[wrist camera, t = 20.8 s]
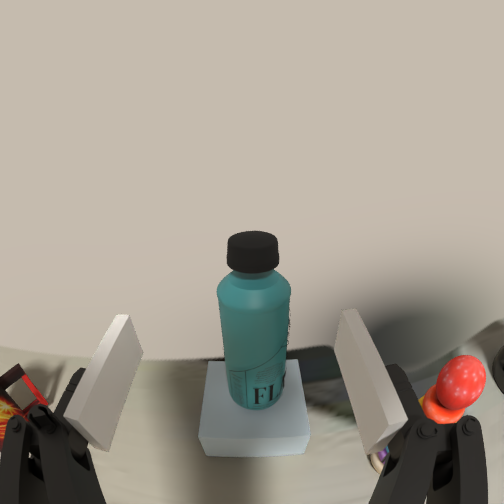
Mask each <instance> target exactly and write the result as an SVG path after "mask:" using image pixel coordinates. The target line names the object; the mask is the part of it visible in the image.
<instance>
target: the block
mask: <svg viewBox="0 0 504 504" xmlns="http://www.w3.org/2000/svg"><path fill="white" fill-rule="evenodd" d="M286 367H287V368H286ZM225 370H226V364H225V361H209V362H208V368H207V375H206V382H205V389H204V396H203V403H202V411H201V418H200V426H199V434H198V438H199V440H200V443H201V445H202V447H203V449H204V452H205V454H206V456H217V457H271V456H287V455H298V454H304V452H305V449H306V446H307V444H308V441H309V438H310V435H311V433H310V427H309V421H308V415H307V409H306V404H305V398H304V392H303V387H302V381H301V376H300V370H299V365H298V359H294V360H286V362H285V371H286V375H285V377H286V378H284V380H285V381H284V385H285V386H284V389H283V391H282V392H283V393H282V395H281V396H280V398H279V400H278V401H277V402H276V403H275V404H274V405H272V406H271V407H269V408H266V409H263V410H250V409H246V408H243V407H241V406H239V405H238V404H237V403H236V402H234V401H233V399H232V397H231V396H230V393H229V388H228V380H227V373H226V371H225ZM226 380H227V381H226Z"/></svg>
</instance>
